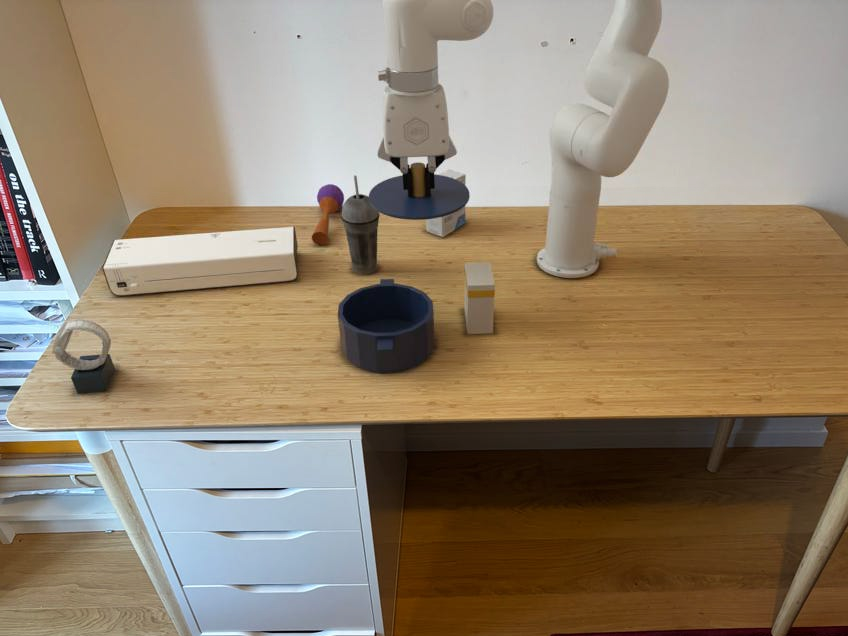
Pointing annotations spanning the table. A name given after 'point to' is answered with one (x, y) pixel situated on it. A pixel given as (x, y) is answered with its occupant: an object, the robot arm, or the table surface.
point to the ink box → (449, 222)
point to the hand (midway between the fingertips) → (419, 192)
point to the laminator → (201, 261)
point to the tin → (386, 327)
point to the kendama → (327, 210)
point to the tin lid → (419, 196)
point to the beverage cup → (361, 231)
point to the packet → (479, 298)
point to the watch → (86, 358)
